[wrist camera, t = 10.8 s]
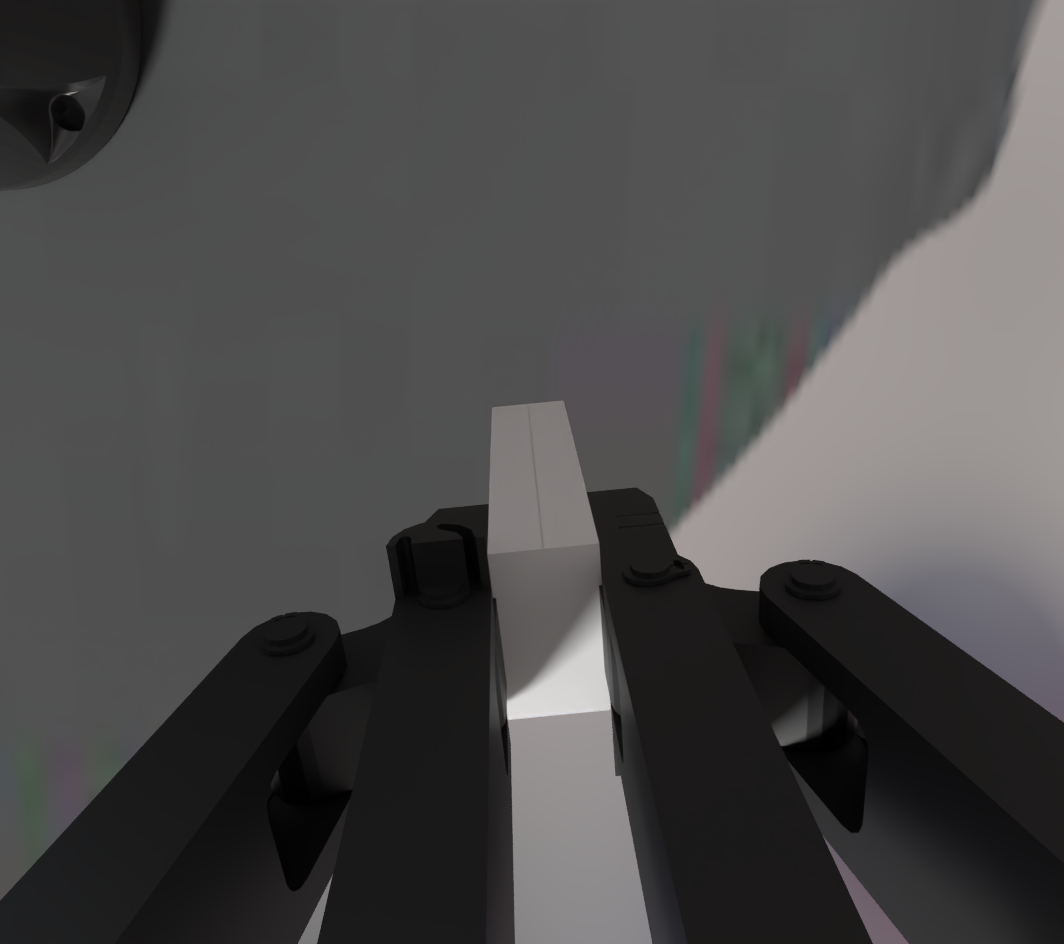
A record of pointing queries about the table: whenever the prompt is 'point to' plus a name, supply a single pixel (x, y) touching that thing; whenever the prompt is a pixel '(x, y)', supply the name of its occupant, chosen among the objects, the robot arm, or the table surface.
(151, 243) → the table surface
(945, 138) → the table surface
